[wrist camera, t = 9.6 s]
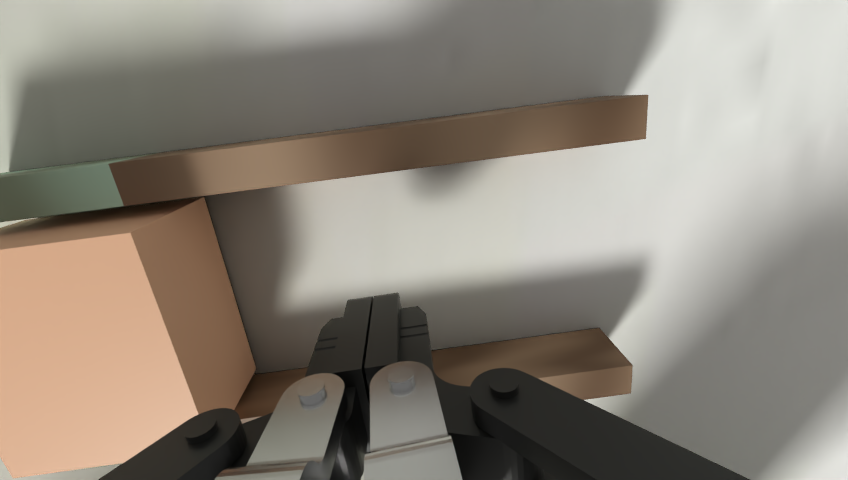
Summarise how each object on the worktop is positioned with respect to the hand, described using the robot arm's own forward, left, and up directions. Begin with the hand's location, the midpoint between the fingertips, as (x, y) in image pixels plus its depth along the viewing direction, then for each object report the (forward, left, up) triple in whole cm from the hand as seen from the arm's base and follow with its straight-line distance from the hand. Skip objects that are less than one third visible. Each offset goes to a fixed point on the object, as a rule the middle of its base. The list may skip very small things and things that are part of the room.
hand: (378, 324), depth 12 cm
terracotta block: (+8, 0, -3) cm, 9 cm away
